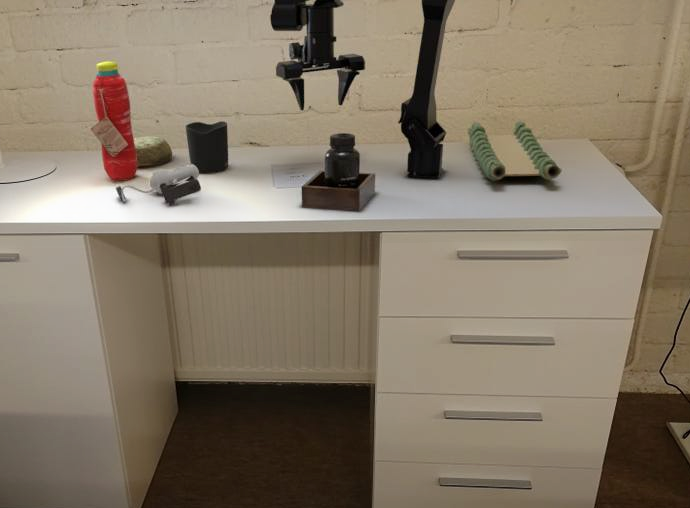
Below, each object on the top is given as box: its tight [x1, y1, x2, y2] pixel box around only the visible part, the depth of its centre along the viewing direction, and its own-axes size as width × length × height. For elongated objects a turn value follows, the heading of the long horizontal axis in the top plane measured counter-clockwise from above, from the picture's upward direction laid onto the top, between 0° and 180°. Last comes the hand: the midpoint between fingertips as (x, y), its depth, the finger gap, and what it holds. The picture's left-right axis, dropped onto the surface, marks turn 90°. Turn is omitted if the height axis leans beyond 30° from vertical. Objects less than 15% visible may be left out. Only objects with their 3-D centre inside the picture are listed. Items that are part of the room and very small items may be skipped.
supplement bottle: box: [324, 132, 361, 189], centre depth 152 cm, size 7×7×12 cm
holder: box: [301, 170, 376, 212], centre depth 154 cm, size 12×12×4 cm
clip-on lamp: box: [115, 163, 202, 206], centre depth 161 cm, size 12×6×18 cm
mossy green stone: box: [133, 136, 173, 167], centre depth 188 cm, size 14×13×5 cm
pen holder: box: [185, 120, 229, 174], centre depth 178 cm, size 9×9×10 cm
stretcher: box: [467, 120, 563, 182], centre depth 170 cm, size 41×14×5 cm, turn 173°
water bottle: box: [90, 61, 139, 182], centre depth 171 cm, size 12×8×25 cm, turn 164°
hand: (321, 107), depth 171 cm, fingers open, 9 cm apart
